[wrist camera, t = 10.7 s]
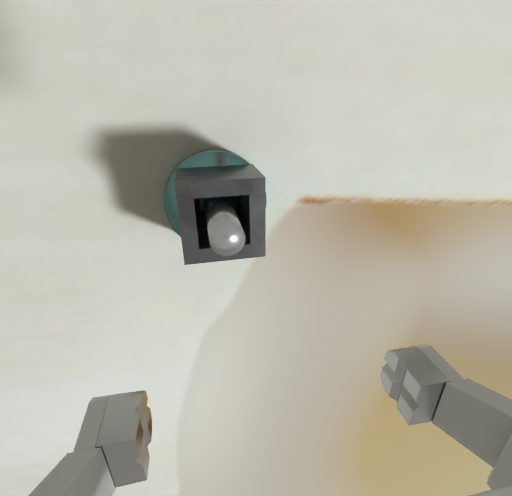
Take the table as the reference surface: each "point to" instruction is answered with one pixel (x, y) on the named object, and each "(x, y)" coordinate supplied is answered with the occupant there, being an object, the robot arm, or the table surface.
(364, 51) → the table surface
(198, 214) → the teal mushroom knob
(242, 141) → the table surface
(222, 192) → the hollow grey cube
